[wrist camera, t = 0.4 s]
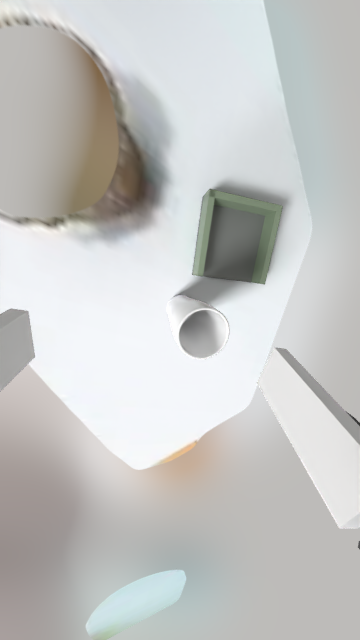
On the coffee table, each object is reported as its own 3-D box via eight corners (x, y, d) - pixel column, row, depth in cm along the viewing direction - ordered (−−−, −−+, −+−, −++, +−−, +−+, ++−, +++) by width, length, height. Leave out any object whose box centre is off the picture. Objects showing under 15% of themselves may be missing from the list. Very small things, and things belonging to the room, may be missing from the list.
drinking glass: (160, 323, 37) (172, 359, 23) (164, 288, 36) (180, 303, 21) (193, 326, 39) (224, 361, 25) (199, 293, 37) (236, 309, 23)
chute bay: (202, 196, 33) (209, 188, 29) (269, 211, 35) (282, 205, 32) (192, 274, 36) (197, 275, 33) (254, 282, 39) (264, 284, 35)
